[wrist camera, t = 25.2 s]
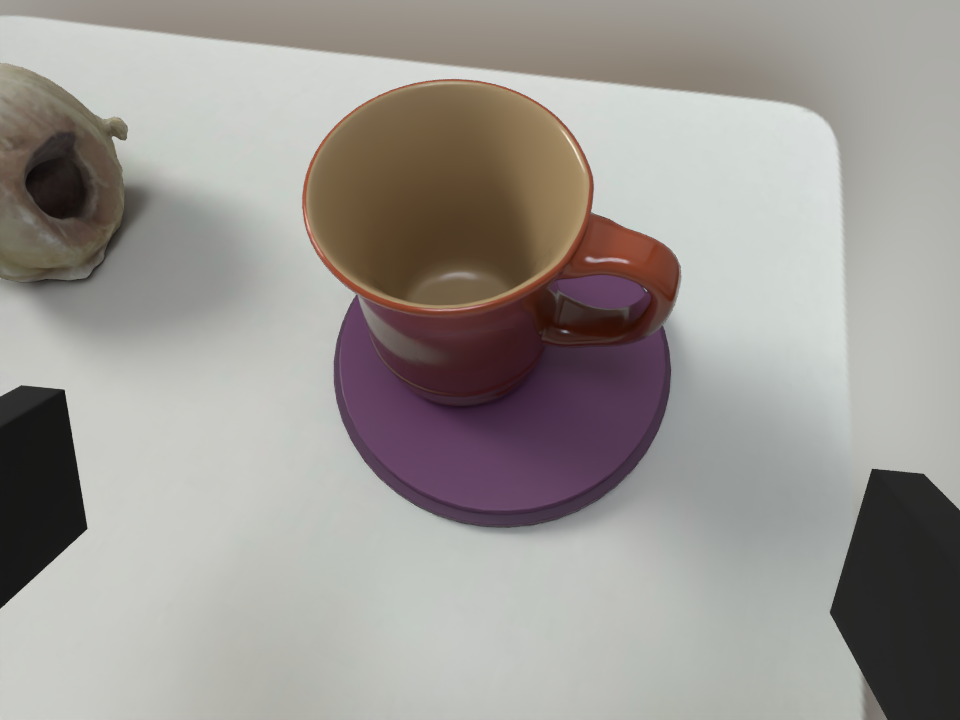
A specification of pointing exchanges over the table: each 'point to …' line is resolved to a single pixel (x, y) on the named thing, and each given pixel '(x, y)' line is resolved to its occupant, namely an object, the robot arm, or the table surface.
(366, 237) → the mug
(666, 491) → the table surface
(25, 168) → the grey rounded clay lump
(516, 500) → the plum lid
